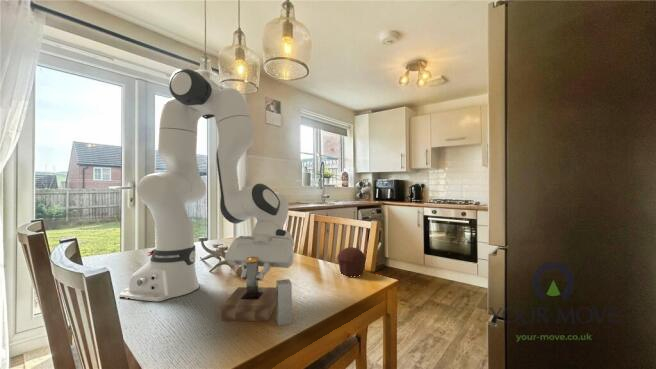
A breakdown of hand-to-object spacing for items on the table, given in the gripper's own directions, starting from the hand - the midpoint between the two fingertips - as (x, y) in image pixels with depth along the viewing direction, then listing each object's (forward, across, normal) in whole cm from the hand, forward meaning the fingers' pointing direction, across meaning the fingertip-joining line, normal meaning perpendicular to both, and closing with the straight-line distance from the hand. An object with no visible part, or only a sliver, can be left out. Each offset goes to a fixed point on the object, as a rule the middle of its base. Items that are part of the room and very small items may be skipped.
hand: (251, 279), depth 73 cm
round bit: (+4, 0, +5) cm, 6 cm away
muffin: (-19, +24, +32) cm, 45 cm away
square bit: (+9, +11, +4) cm, 14 cm away
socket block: (+6, 0, +7) cm, 9 cm away
